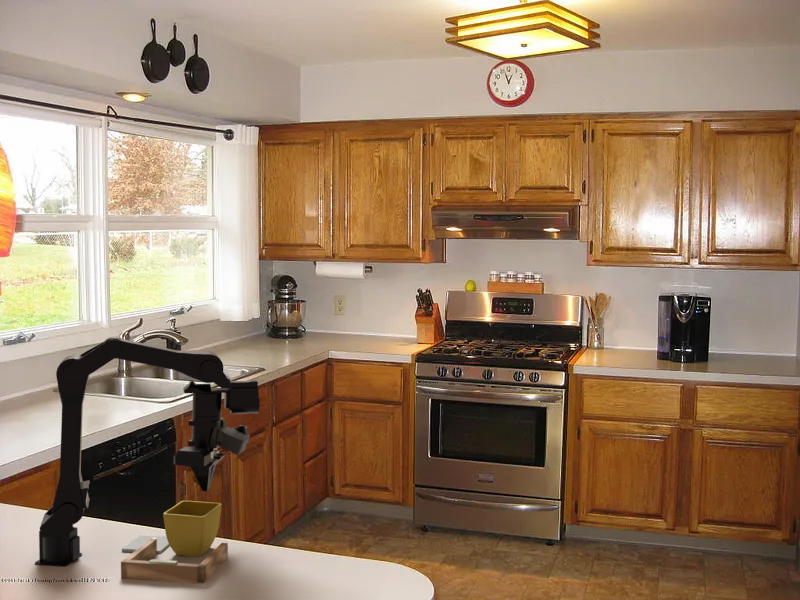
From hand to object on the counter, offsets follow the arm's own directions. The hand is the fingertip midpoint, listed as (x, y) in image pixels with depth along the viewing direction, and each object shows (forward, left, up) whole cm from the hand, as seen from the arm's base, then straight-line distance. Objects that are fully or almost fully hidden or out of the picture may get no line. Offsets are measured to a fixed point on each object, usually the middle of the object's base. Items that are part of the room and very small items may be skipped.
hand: (205, 490), depth 171 cm
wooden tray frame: (-1, -13, -11) cm, 17 cm away
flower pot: (-1, -4, -12) cm, 12 cm away
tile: (-11, -2, -11) cm, 16 cm away
